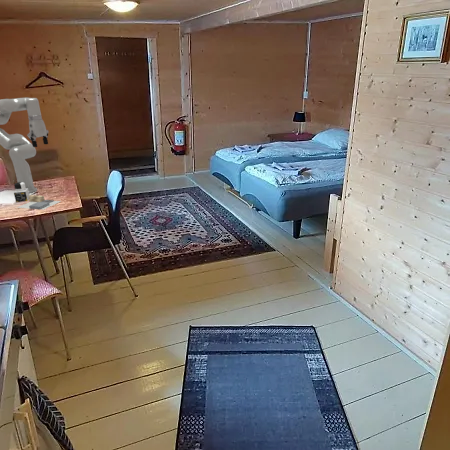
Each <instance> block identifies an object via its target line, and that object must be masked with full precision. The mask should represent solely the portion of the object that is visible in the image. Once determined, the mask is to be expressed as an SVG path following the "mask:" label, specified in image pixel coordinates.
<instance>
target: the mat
mask: <svg viewBox="0 0 450 450" xmlns="http://www.w3.org/2000/svg"><path fill="white" fill-rule="evenodd" d="M35 203H37V202H27V203H23V204H22V205H19V206H17V207H16V208H17V209H31V210H34V209H33V208H29V206H30V205H32V204H35ZM59 203H61V200H54V201H53V202H51V203H49V205H48V206H46V207H44V208H42V209H41V210H45V209H49V208H50V207H53V206H54V205H56V204H59Z"/></svg>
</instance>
